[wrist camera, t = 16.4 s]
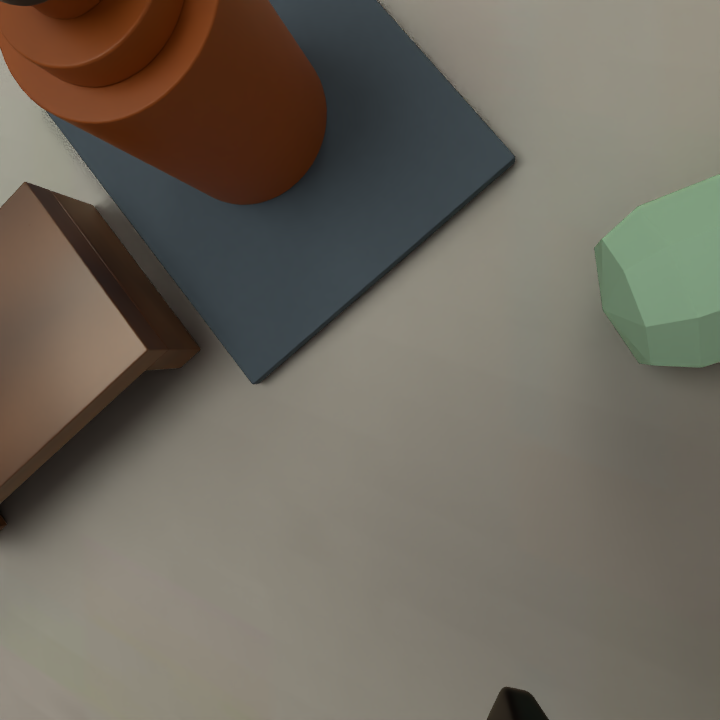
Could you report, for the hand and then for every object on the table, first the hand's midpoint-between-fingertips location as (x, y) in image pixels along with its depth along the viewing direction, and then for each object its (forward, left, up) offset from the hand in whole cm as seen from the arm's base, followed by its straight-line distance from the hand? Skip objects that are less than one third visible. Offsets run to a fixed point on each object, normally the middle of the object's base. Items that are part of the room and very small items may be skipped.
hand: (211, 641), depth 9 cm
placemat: (+13, -4, -12) cm, 18 cm away
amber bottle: (+13, -4, -12) cm, 18 cm away
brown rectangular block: (+12, +9, -12) cm, 19 cm away
